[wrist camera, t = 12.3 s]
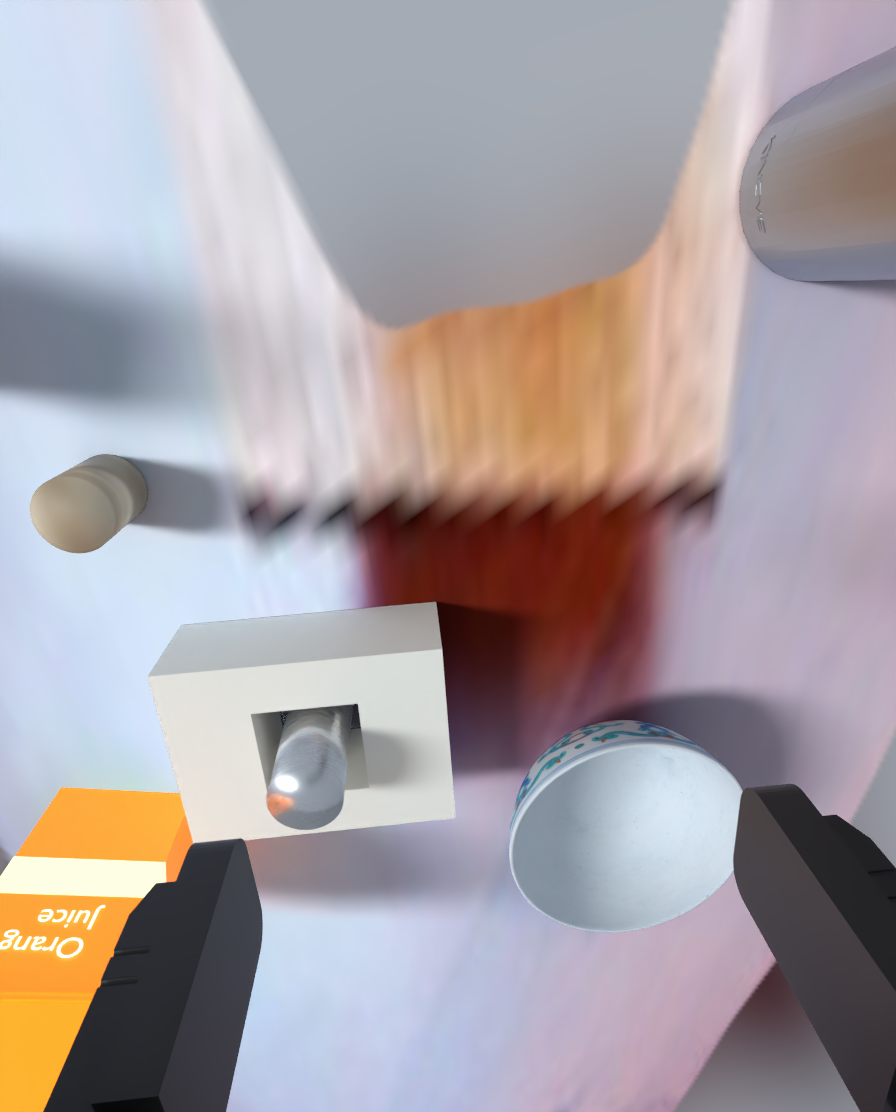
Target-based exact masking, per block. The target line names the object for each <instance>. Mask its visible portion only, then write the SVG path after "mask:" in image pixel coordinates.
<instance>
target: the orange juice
mask: <svg viewBox="0 0 896 1112" xmlns="http://www.w3.org/2000/svg"><path fill="white" fill-rule="evenodd" d="M192 844H193V840H192V837H191V833H190V829H189V826H188V822H187V818H186V815H185V811H184V808H183V804H182V800H181V797H180V793H160V792H140V791H121V790H101V789H81V788H61V789H60V791H59V792H58V794H57V795H56V797H55V798H54V799H53V801H52V802H51V804H50V805H49V807H48V808H47V810H46V811H45V813H44V814H43V816H42V817H41V819H40V820H39V822H38V823H37V825H36V826H35V828H34V829H33V831H32V832H31V834H30V835H29V836H28V838H27V839H26V841H25V842H24V844H23V845H22V847H21V848H20V850H19V851H18V853H17V854H16V856H14V857H13V858H12V860H11V861H10V863H9V864H8V866H7V867H6V869H5V870H4V872H3V873H2V875H1V876H0V1112H43V1110H44V1108H45V1106H46V1104H47V1102H48V1099H49V1097H50V1095H51V1093H52V1090H53V1088H54V1086H55V1083H56V1081H57V1079H58V1076H59V1074H60V1072H61V1070H62V1067H63V1065H64V1063H65V1060H66V1058H67V1056H68V1054H69V1051H70V1049H71V1047H72V1044H73V1042H74V1040H75V1037H76V1035H77V1033H78V1031H79V1028H80V1026H81V1024H82V1021H83V1019H84V1017H85V1015H86V1012H87V1010H88V1008H89V1005H90V1003H91V1001H92V999H93V996H94V994H95V992H96V989H97V987H100V985H101V978H102V976H103V973H104V971H105V969H106V966H107V964H108V962H109V960H110V957H113V955H114V948H115V946H116V943H117V941H118V939H119V937H120V934H121V932H122V930H123V927H124V925H125V923H126V921H127V918H128V916H129V914H130V913H131V912H132V911H133V909H134V908H135V907H136V906H137V905H138V904H139V902H140V901H141V900H142V899H143V898H144V897H145V895H146V894H147V893H148V892H149V891H150V890H151V888H152V887H153V886H154V885H155V884H156V883H164V882H174V881H176V880H177V877H178V874H179V872H180V869H181V866H182V864H183V861H184V859H185V856H186V853H187V851H188V849H189V847H190V846H191V845H192Z"/></svg>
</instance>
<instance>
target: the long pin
mask: <svg viewBox="0 0 896 1112" xmlns="http://www.w3.org/2000/svg"><path fill="white" fill-rule="evenodd" d="M352 711H353V704H349V705H339V706H329V707H318V708H308V709H298V710H288V712H287V716H286V720H285V724H284V728H283V732H282V736H281V740H280V744H279V748H278V752H277V755H276V759H275V763H274V767H273V771H272V775H271V779H270V783H269V787H268V791H267V795H266V803H267V807H268V810H269V812H270V813H271V815H272V816H273V817H274V818H275V819H276V820H277V821H278V822H280V823H281V824H283V825H285V826H287V827H290V828H293V829H298V830H312V829H317V828H321V827H323V826H326V825H327V824H329V823H331V822H332V821H333V820H334V819H336V817H337V816H338V815H339V814H340V812H341V810H342V807H343V802H344V792H345V782H346V772H347V762H348V752H349V742H350V732H351V721H352Z"/></svg>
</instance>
